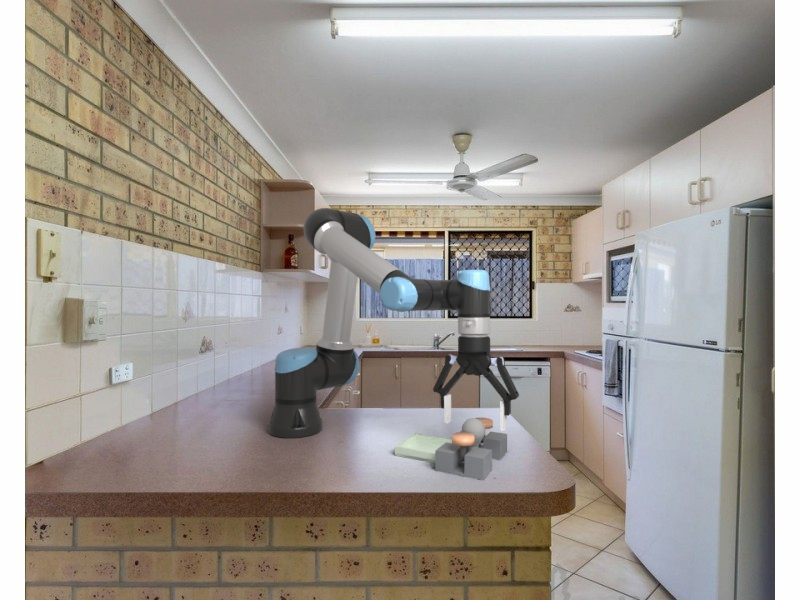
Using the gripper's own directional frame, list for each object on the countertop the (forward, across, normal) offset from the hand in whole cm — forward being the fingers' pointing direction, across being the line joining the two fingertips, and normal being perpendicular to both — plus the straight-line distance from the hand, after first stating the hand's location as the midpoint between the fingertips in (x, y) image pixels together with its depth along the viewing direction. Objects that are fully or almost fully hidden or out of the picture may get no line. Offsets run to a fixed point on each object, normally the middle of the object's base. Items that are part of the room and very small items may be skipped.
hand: (474, 425), depth 104 cm
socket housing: (+8, 0, 0) cm, 8 cm away
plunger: (+6, 0, -7) cm, 9 cm away
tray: (+8, -13, 0) cm, 15 cm away
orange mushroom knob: (+6, 0, +7) cm, 9 cm away
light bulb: (+8, 0, 0) cm, 9 cm away
